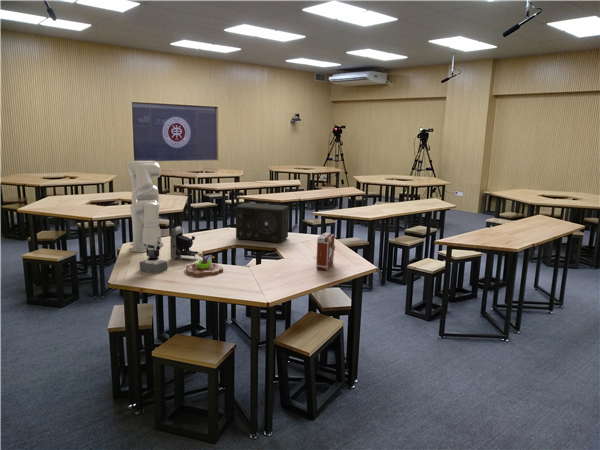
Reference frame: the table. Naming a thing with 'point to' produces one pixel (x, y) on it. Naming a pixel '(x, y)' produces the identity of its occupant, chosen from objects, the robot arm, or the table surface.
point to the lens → (151, 253)
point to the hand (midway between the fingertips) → (153, 255)
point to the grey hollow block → (153, 265)
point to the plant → (203, 268)
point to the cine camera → (325, 251)
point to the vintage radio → (262, 222)
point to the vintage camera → (180, 244)
